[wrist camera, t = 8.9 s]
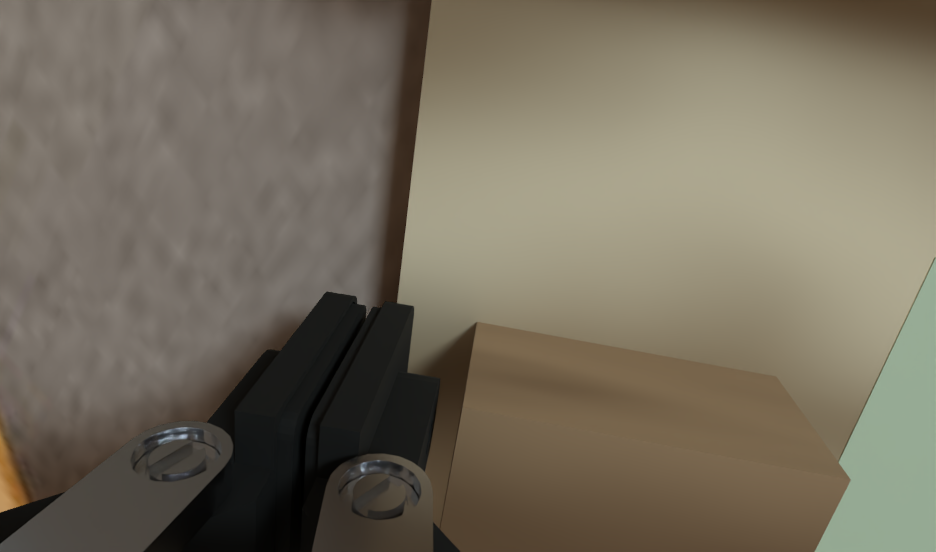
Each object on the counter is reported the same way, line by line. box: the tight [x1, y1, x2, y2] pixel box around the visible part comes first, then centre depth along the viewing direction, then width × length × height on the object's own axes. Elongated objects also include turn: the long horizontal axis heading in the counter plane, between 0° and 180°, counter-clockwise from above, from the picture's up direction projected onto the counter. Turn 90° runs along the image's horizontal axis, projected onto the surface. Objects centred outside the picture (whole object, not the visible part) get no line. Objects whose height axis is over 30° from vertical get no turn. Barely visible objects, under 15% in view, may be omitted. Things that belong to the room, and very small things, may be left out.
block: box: [439, 322, 851, 552], centre depth 12 cm, size 6×6×3 cm
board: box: [397, 0, 936, 528], centre depth 12 cm, size 22×17×4 cm
